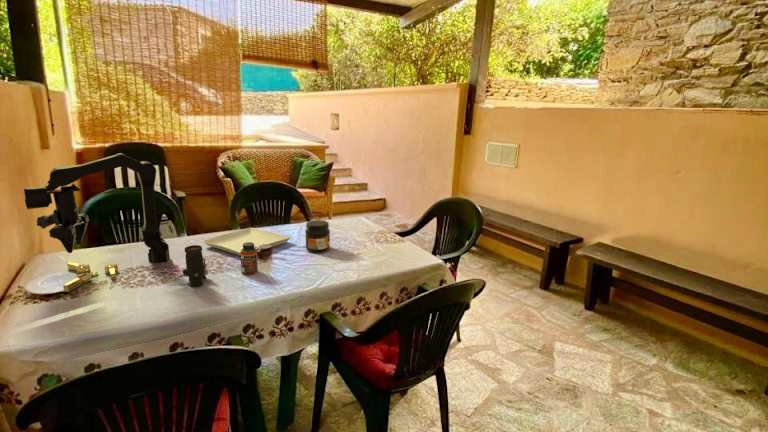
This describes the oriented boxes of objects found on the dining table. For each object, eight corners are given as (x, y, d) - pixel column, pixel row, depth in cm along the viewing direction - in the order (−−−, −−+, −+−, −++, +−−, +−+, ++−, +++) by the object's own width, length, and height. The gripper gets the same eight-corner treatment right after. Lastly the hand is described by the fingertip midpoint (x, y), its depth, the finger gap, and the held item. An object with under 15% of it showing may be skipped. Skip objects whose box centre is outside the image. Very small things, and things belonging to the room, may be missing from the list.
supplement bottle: (243, 276, 157) (241, 247, 154) (240, 270, 162) (238, 242, 159) (259, 273, 160) (258, 245, 157) (256, 268, 165) (254, 240, 162)
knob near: (105, 271, 155) (103, 264, 154) (117, 269, 157) (116, 262, 156) (107, 281, 147) (105, 274, 146) (120, 278, 149) (119, 271, 149)
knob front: (93, 271, 154) (92, 264, 154) (81, 275, 151) (80, 268, 150) (75, 266, 158) (74, 260, 158) (64, 270, 155) (63, 263, 154)
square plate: (292, 244, 194) (292, 236, 193) (243, 261, 172) (243, 252, 171) (251, 233, 208) (251, 225, 207) (201, 248, 186) (201, 240, 185)
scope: (204, 240, 152) (207, 249, 143) (208, 277, 156) (211, 287, 147) (179, 243, 148) (180, 252, 140) (183, 280, 152) (184, 291, 143)
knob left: (83, 279, 148) (82, 272, 147) (94, 279, 148) (93, 272, 147) (60, 291, 138) (59, 284, 138) (72, 292, 138) (70, 284, 138)
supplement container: (323, 254, 181) (323, 227, 177) (301, 251, 184) (300, 224, 181) (334, 247, 190) (333, 221, 187) (312, 244, 193) (312, 218, 190)
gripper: (48, 200, 151) (57, 242, 155) (25, 213, 134) (35, 260, 138) (85, 198, 154) (93, 239, 158) (67, 211, 137) (76, 256, 141)
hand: (74, 248), depth 149 cm, fingers open, 9 cm apart
